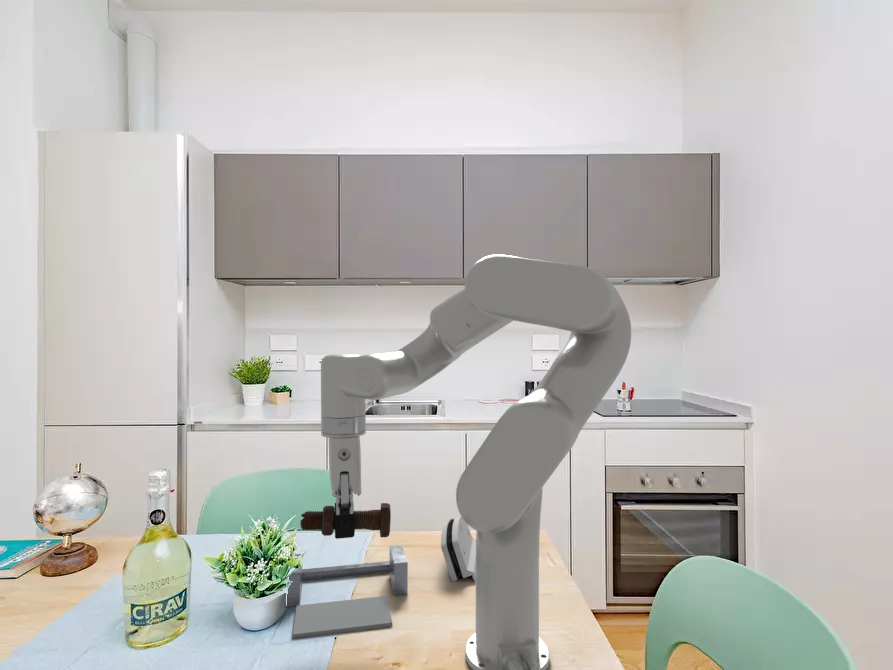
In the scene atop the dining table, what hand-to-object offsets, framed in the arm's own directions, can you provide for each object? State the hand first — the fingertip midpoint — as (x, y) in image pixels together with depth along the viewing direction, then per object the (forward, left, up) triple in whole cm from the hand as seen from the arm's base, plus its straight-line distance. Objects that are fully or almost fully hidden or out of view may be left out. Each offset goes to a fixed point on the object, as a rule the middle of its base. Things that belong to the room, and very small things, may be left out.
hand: (344, 529), depth 89 cm
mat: (0, 0, -15) cm, 15 cm away
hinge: (+16, -25, -15) cm, 33 cm away
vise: (+11, -1, -15) cm, 19 cm away
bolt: (0, 0, -1) cm, 1 cm away
